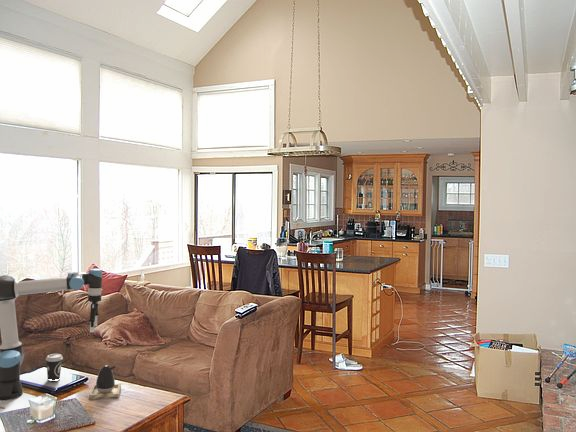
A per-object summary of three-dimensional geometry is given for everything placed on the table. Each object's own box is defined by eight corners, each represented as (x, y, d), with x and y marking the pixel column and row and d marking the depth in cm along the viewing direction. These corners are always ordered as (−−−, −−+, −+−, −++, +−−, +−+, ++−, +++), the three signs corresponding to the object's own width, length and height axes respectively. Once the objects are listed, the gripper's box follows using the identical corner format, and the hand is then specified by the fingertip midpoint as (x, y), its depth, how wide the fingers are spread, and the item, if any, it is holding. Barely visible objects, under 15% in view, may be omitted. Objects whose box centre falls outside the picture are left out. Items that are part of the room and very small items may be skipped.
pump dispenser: (117, 393, 296) (118, 367, 295) (98, 396, 290) (99, 369, 289) (111, 387, 304) (112, 361, 303) (93, 390, 298) (94, 364, 298)
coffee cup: (56, 376, 320) (57, 352, 319) (65, 380, 314) (66, 355, 314) (41, 380, 312) (42, 355, 312) (50, 384, 306) (51, 359, 306)
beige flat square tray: (88, 399, 287) (88, 395, 287) (92, 388, 303) (92, 384, 302) (118, 398, 291) (119, 393, 291) (120, 387, 307) (121, 383, 306)
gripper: (99, 298, 303) (97, 334, 303) (103, 290, 327) (102, 323, 328) (85, 298, 301) (84, 334, 302) (90, 290, 325) (89, 324, 326)
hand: (93, 329), depth 315 cm, fingers open, 13 cm apart
